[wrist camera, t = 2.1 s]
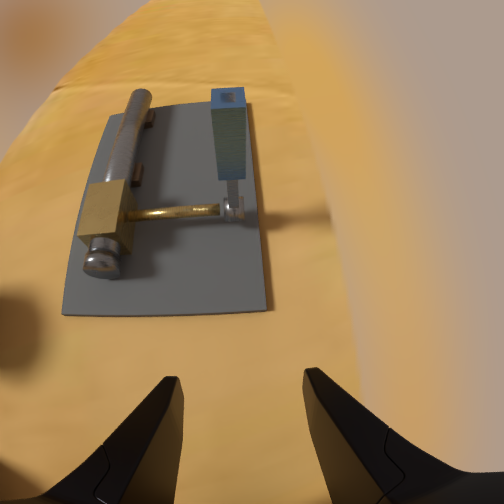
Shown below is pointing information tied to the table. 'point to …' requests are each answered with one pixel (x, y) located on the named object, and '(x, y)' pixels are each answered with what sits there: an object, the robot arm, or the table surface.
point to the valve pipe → (123, 197)
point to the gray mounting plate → (175, 230)
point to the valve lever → (230, 145)
